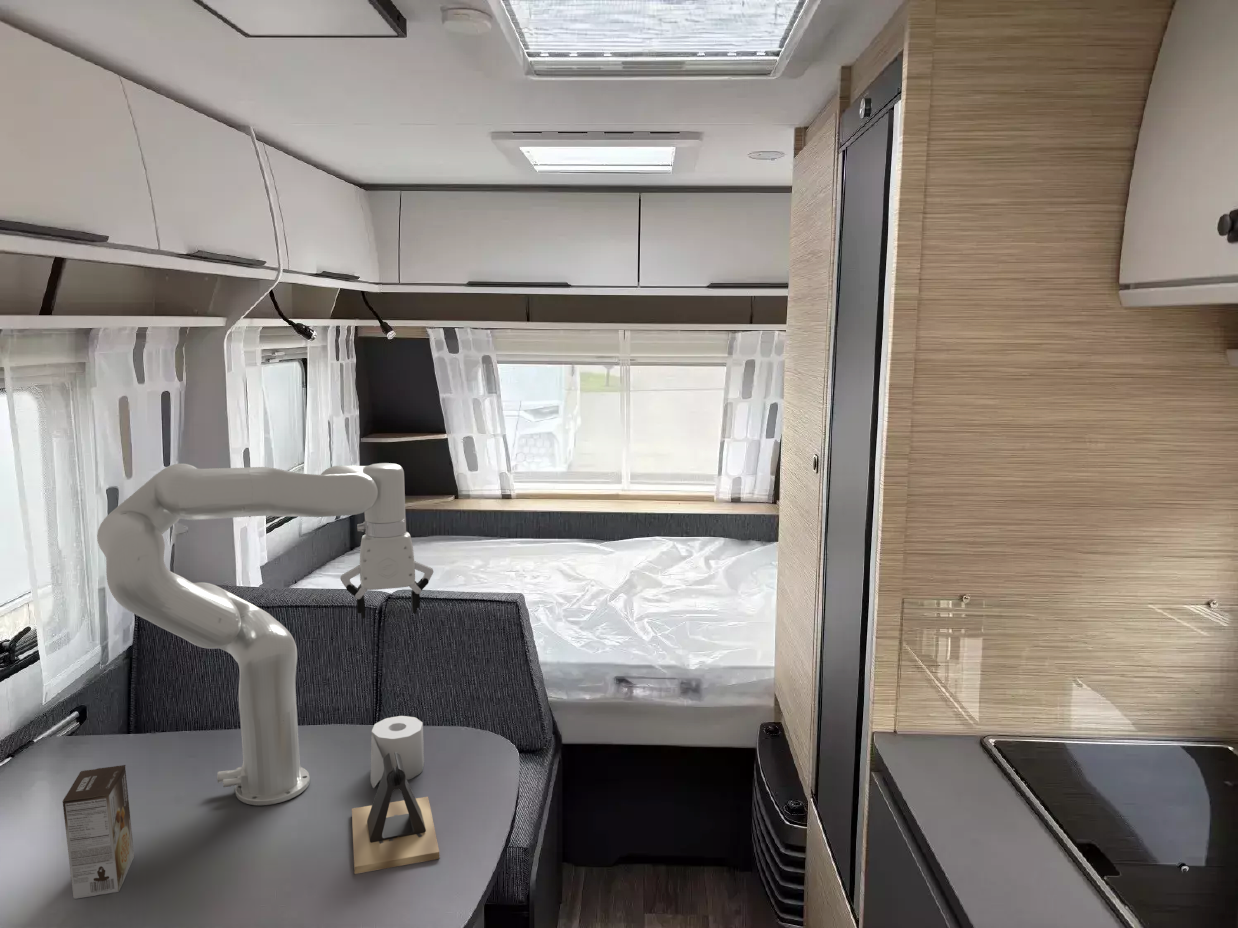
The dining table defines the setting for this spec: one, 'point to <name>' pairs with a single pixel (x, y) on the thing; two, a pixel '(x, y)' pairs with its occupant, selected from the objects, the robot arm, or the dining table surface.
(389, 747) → the toilet tissue
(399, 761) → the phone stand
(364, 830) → the marked board
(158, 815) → the dining table surface
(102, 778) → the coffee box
